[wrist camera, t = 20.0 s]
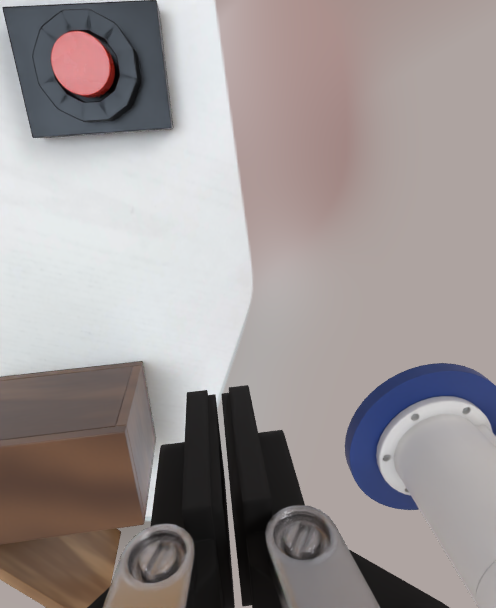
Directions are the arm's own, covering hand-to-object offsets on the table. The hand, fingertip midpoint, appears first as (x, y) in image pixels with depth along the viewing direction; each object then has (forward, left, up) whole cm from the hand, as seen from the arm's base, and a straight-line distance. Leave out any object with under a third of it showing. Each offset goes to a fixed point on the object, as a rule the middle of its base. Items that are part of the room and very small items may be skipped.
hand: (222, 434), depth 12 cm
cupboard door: (+19, +28, -27) cm, 44 cm away
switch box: (+7, -13, -27) cm, 31 cm away
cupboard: (+14, +16, -27) cm, 34 cm away
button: (+7, -12, -23) cm, 27 cm away
